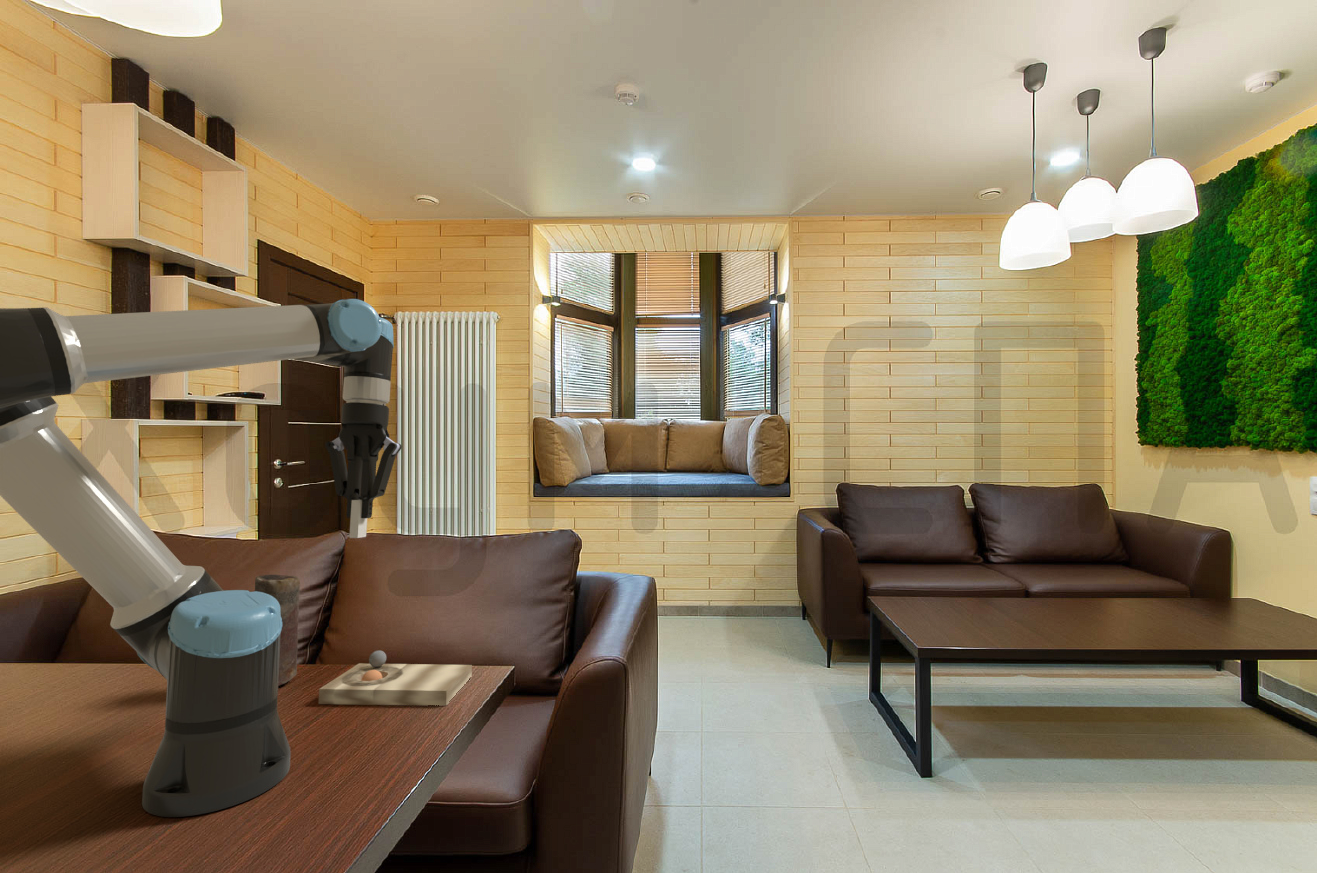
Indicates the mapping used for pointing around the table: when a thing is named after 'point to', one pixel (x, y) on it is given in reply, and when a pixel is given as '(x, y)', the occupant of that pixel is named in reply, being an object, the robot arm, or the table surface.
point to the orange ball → (371, 675)
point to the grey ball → (377, 658)
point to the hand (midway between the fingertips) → (357, 537)
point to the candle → (284, 619)
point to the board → (397, 685)
